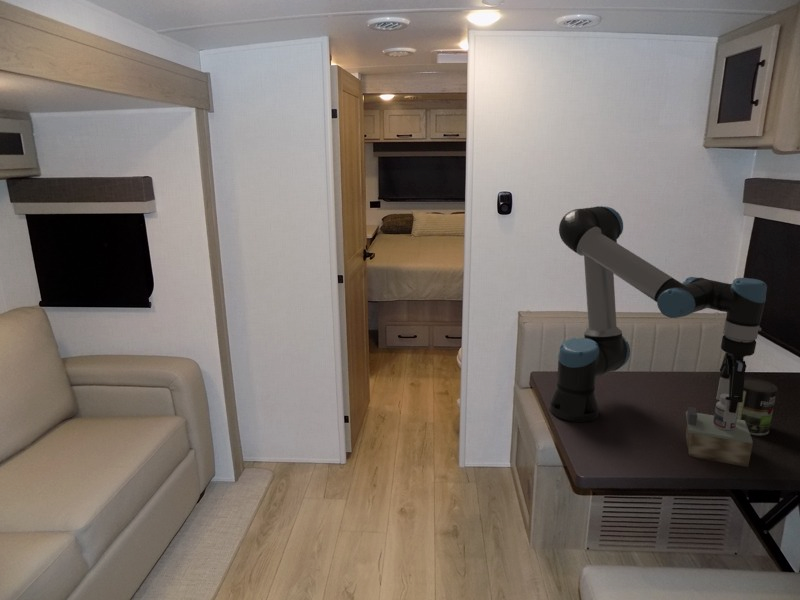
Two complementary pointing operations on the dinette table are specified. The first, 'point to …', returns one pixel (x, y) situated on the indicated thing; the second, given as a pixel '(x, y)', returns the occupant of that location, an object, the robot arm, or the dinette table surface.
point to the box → (718, 449)
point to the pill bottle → (722, 415)
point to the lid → (705, 426)
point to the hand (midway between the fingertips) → (725, 410)
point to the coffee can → (757, 405)
